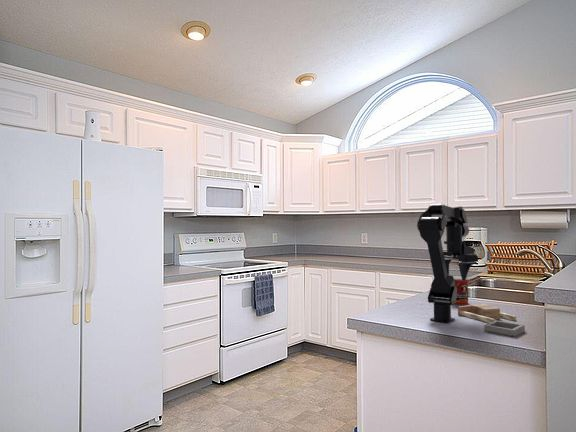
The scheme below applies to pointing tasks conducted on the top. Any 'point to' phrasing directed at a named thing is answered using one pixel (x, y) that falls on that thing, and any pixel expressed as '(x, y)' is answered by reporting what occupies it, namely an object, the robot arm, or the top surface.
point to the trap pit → (504, 328)
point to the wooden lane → (467, 313)
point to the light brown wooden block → (486, 311)
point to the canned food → (461, 290)
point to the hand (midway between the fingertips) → (455, 278)
